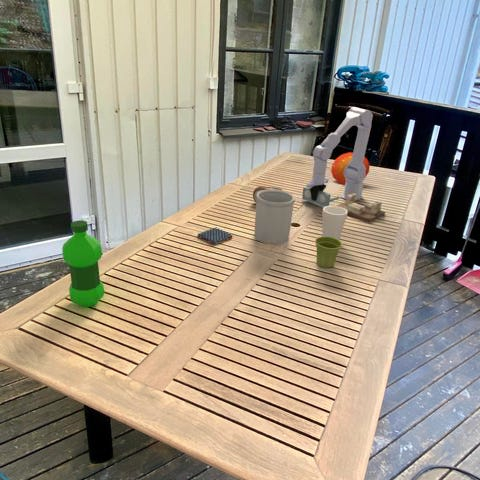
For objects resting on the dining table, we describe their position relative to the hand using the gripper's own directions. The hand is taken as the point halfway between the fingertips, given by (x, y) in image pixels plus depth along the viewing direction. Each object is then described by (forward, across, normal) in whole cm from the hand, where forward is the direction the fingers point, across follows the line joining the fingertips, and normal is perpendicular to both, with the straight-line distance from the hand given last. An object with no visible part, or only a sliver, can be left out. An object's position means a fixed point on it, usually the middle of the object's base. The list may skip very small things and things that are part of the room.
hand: (315, 199), depth 210 cm
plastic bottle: (+2, +120, +6) cm, 120 cm away
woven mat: (+3, +62, -3) cm, 62 cm away
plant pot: (+3, +46, +38) cm, 60 cm away
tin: (+3, +18, -14) cm, 23 cm away
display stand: (+3, -8, +19) cm, 21 cm away
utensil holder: (+3, +44, +11) cm, 45 cm away
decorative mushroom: (+3, -45, -10) cm, 46 cm away
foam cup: (+3, +28, +28) cm, 40 cm away
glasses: (+2, -4, 0) cm, 4 cm away
